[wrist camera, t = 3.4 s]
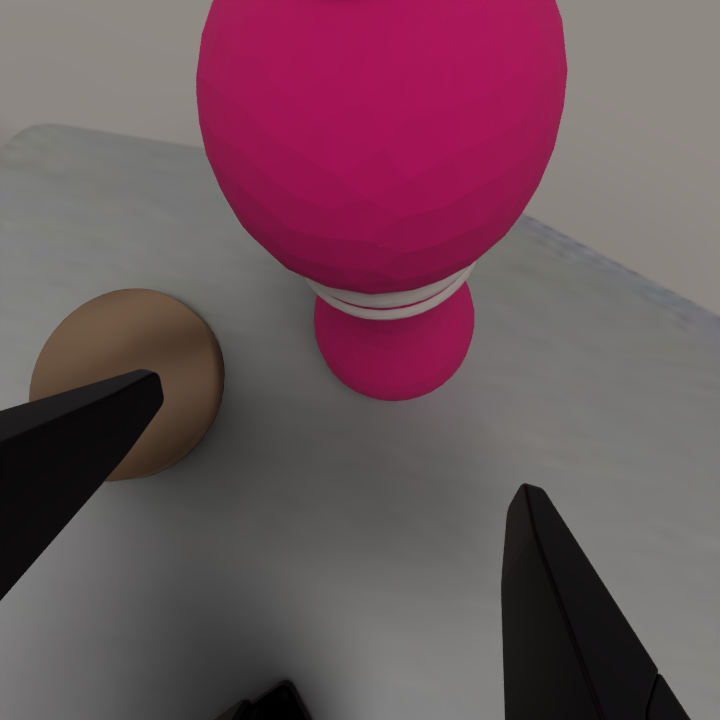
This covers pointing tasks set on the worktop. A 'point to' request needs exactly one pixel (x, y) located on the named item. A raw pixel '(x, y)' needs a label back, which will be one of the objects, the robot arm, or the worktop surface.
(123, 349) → the walnut base
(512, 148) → the pepper mill
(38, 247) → the worktop surface
